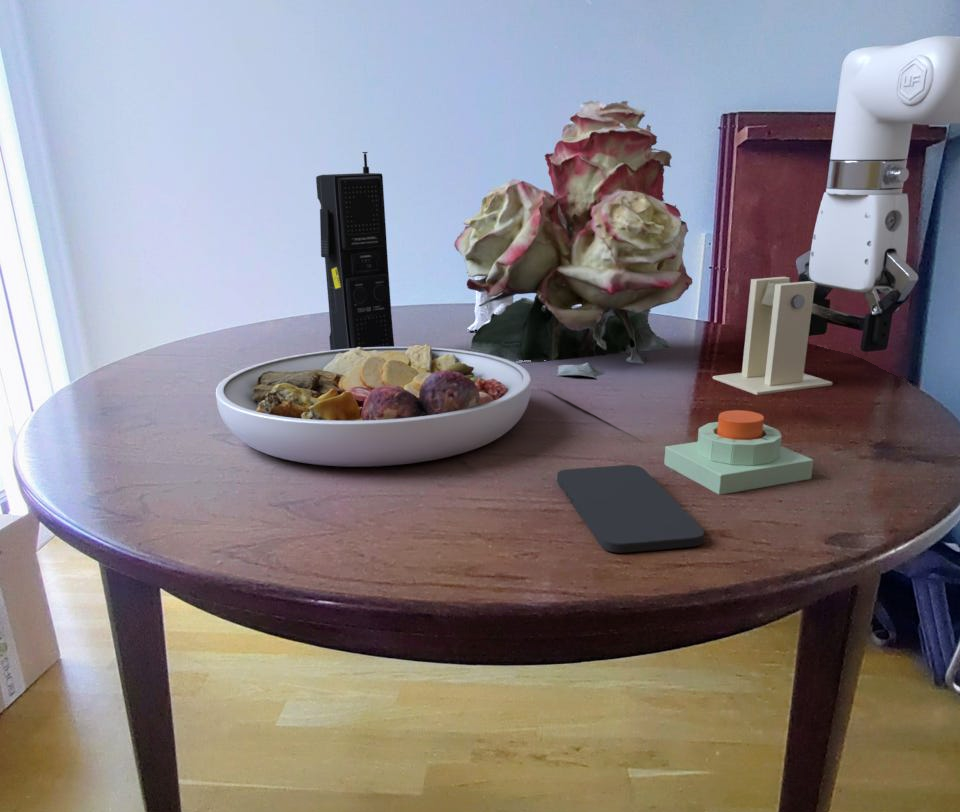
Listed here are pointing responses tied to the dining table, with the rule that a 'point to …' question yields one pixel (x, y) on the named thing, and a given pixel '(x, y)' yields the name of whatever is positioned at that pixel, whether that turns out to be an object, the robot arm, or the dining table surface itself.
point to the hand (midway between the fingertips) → (842, 342)
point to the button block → (737, 461)
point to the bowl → (374, 404)
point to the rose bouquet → (580, 247)
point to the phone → (628, 509)
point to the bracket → (776, 339)
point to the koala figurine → (487, 307)
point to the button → (740, 425)
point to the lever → (821, 312)
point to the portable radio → (355, 259)
